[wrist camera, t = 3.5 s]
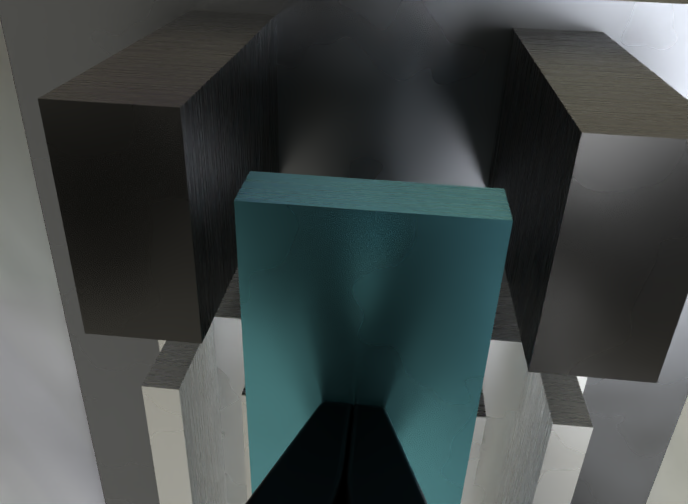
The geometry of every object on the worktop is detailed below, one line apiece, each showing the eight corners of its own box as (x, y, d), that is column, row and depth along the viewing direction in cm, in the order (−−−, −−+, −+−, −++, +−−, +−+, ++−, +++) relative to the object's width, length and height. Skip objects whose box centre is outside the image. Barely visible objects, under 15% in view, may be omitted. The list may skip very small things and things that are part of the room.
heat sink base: (577, 603, 21) (641, 892, 15) (143, 556, 22) (41, 810, 16) (789, -3, 12) (1168, 115, 6) (33, -40, 13) (-301, 30, 7)
